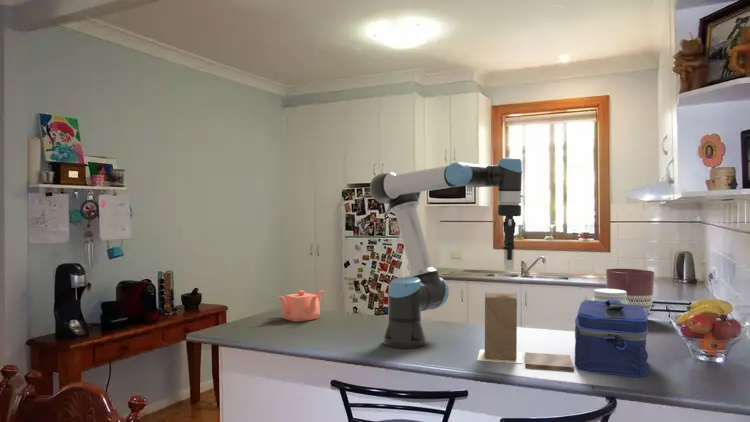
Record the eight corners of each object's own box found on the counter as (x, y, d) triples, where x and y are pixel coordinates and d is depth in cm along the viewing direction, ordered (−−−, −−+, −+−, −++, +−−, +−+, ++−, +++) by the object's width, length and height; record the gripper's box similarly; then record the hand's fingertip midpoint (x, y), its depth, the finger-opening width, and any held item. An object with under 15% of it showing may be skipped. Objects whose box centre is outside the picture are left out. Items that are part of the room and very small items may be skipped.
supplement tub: (594, 334, 215) (594, 287, 215) (630, 338, 208) (630, 289, 208) (588, 341, 203) (589, 291, 203) (626, 345, 197) (627, 294, 197)
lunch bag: (652, 383, 155) (653, 310, 155) (573, 374, 163) (573, 305, 162) (642, 355, 184) (643, 294, 184) (575, 349, 191) (575, 290, 191)
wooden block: (516, 360, 176) (516, 298, 176) (484, 359, 178) (484, 297, 178) (515, 352, 186) (515, 293, 186) (484, 351, 188) (485, 292, 188)
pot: (316, 323, 233) (317, 294, 233) (276, 322, 234) (276, 293, 234) (324, 315, 251) (324, 288, 251) (286, 314, 252) (286, 287, 252)
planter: (658, 324, 232) (658, 274, 232) (608, 322, 238) (608, 272, 238) (649, 316, 251) (649, 269, 251) (603, 313, 257) (603, 267, 256)
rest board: (525, 367, 169) (525, 363, 169) (525, 355, 183) (525, 352, 183) (574, 371, 166) (574, 367, 166) (569, 358, 179) (569, 355, 179)
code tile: (477, 360, 177) (477, 359, 177) (480, 349, 190) (480, 349, 190) (522, 363, 173) (522, 363, 173) (521, 352, 187) (521, 352, 187)
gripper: (523, 204, 172) (522, 272, 172) (519, 204, 196) (518, 263, 197) (498, 204, 173) (497, 271, 174) (497, 204, 198) (496, 263, 198)
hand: (508, 267), depth 185 cm, fingers open, 13 cm apart
